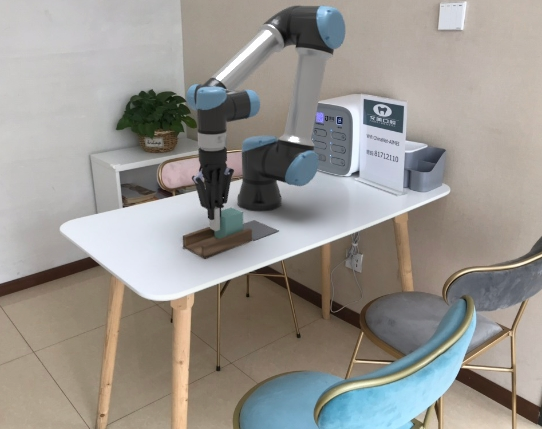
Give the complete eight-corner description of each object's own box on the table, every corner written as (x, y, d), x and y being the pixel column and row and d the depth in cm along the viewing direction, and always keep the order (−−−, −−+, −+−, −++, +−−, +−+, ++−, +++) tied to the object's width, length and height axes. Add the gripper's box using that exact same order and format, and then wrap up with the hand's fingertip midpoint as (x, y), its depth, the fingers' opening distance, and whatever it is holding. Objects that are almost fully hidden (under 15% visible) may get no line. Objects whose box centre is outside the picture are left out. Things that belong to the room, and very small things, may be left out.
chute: (183, 246, 151) (182, 235, 150) (229, 230, 162) (229, 219, 161) (205, 258, 144) (204, 247, 143) (251, 240, 155) (251, 229, 154)
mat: (229, 229, 163) (229, 228, 163) (254, 220, 169) (254, 219, 169) (254, 240, 155) (254, 239, 155) (278, 231, 162) (278, 230, 162)
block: (214, 237, 155) (213, 212, 152) (231, 230, 159) (231, 207, 156) (226, 242, 152) (225, 218, 149) (243, 236, 156) (242, 212, 153)
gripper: (201, 154, 135) (204, 239, 144) (240, 145, 144) (241, 226, 152) (183, 148, 140) (188, 231, 149) (222, 140, 149) (224, 219, 157)
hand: (214, 228), depth 151 cm, fingers closed
